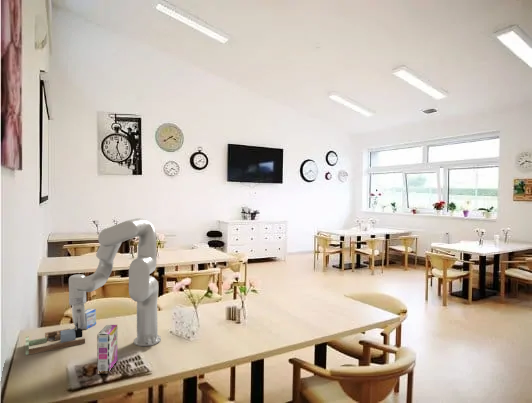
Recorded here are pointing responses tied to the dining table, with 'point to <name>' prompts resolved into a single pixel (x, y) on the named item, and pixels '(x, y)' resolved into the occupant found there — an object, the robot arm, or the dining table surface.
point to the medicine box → (89, 318)
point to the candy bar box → (107, 348)
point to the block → (68, 335)
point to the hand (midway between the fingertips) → (78, 337)
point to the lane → (52, 336)
